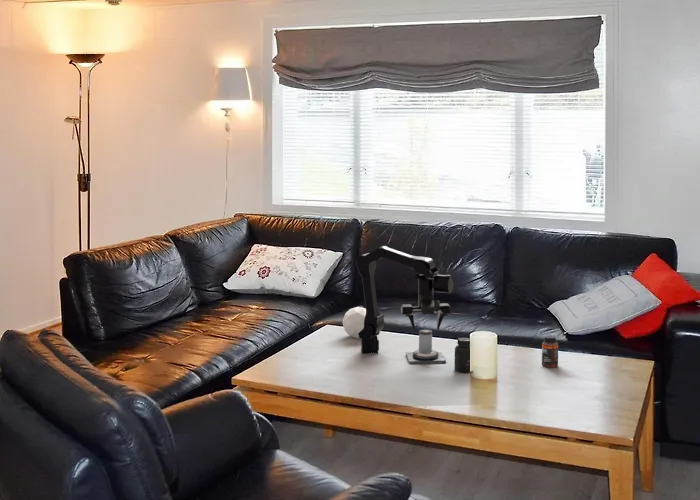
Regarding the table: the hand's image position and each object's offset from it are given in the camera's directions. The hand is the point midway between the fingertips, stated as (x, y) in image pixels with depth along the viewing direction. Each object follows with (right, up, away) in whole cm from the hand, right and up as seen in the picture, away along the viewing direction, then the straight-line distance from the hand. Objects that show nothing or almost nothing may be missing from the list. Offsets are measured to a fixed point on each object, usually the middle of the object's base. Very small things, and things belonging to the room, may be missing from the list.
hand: (425, 330), depth 316 cm
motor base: (0, -11, +2) cm, 11 cm away
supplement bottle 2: (+46, -13, -9) cm, 48 cm away
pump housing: (0, -8, +1) cm, 8 cm away
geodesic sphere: (-26, -6, +35) cm, 44 cm away
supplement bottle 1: (+13, -14, -13) cm, 23 cm away
